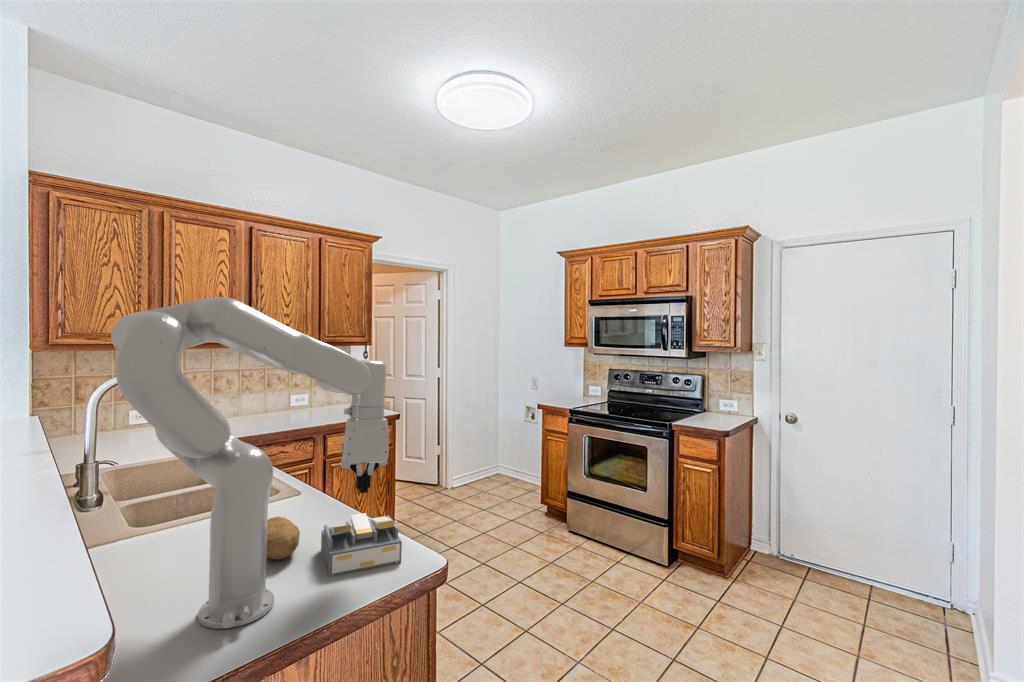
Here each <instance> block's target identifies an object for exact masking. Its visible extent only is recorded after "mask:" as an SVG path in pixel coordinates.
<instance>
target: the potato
mask: <svg viewBox="0 0 1024 682" xmlns="http://www.w3.org/2000/svg"><path fill="white" fill-rule="evenodd" d="M300 534H301V533H300V530H299V528H298V526H297V525H296V524H295V523H293V521H291V520H290V519H288V518H286V517H285V516H274V517H270V518H267V558H266V559H269V560H282V561H283V560H284V559H286V558H288V557H289V556H292V555H293V553H294V552H295V551H296V549H297V548H298V546H299V543H300Z"/></svg>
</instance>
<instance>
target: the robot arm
mask: <svg viewBox="0 0 1024 682" xmlns="http://www.w3.org/2000/svg"><path fill="white" fill-rule="evenodd" d="M110 333H111V335H110V339H111V342H112V345H113V347H114V348H115V349H116V351H117V352H118V353H117V357H116V360H115V361H116V362H115V363H116V364H115V377H116V382H117V386H118V388H119V391H120V393H121V395H122V396H123V397H124V399H125V400H126V401H127V403H129V405H130V406H131V407H132V408H133V409H134V410H135V411H136V412H137V413H138V414H139V415H140V416H141V417H142V418H143V419H144V420H145V421H146V422H147V423H148V424H149V425H150V426H151V427H153V428H154V431H155V435H156V437H157V439H158V441H159V443H161V445H163V446H164V448H166V450H168V451H169V452H170V453H171V454H172V455H173V456H175V457H176V458H177V459H178V460H179V461H181V462H182V464H184V465H185V466H186V467H187V468H188V469H189V470H191V471H192V472H193V473H194V474H195V475H196V476H198V477H199V478H200V479H201V480H202V481H204V482H206V483H207V484H209V485H210V486H211V487H213V488H214V491H215V495H214V500H213V504H212V508H211V512H210V513H211V514H210V523H209V525H210V526H209V531H210V532H209V537H210V538H209V563H208V564H209V571H208V600H207V601H206V602H205V603H203V604H202V605H201V607H200V608H199V609H198V613H197V616H198V617H197V618H198V622H199V624H200V625H201V626H204V627H206V628H209V629H215V630H216V629H217V630H221V629H230V628H237V627H241V626H244V625H247V624H250V623H252V622H255V621H257V620H258V619H260V618H262V617H264V616H265V615H266V614H267V613H268V612H269V611H270V610H271V609H272V608H273V606H274V603H275V596H274V595H275V594H274V593H273V592H272V591H271V590H269V589H267V587H266V586H267V585H266V583H267V559H268V558H267V520H268V519H269V518H268V515H269V514H268V513H269V512H268V511H269V500H270V495H271V490H272V485H273V481H274V480H273V478H274V468H273V463H272V461H271V458H270V457H269V456H268V454H267V453H266V452H264V450H262V449H260V448H259V447H257V446H255V445H253V444H250V443H248V442H244V441H242V440H240V439H239V438H238V437H236V436H235V435H234V434H233V432H232V431H231V426H230V423H229V421H228V419H227V418H226V416H225V415H224V414H223V413H222V412H220V410H218V409H217V408H216V407H214V406H213V405H212V404H211V403H210V401H208V400H207V399H206V398H205V396H203V395H202V394H201V393H200V392H199V391H198V390H197V389H196V388H195V387H194V386H193V384H191V382H190V381H189V380H188V379H187V378H186V376H185V374H183V372H182V370H181V365H180V358H181V355H182V352H183V350H185V349H189V348H193V347H196V346H200V345H202V344H203V345H204V344H207V343H210V342H214V343H217V344H220V345H222V346H224V347H227V348H229V349H231V350H234V351H236V352H238V353H240V354H243V355H245V356H247V357H249V358H252V359H253V360H254V359H255V360H256V361H258V362H261V363H262V364H265V365H266V366H268V367H272V368H274V369H278V370H281V371H284V372H288V373H293V374H297V375H301V376H305V377H307V378H311V379H314V381H315V383H316V384H317V385H318V386H319V388H321V389H322V390H324V391H327V392H331V393H337V394H343V395H348V396H351V397H350V398H351V399H350V405H349V407H347V408H344V409H343V414H344V415H349V417H348V418H347V419H346V423H345V427H344V431H343V438H342V445H341V459H340V464H339V466H340V467H341V468H342V469H347V470H352V472H354V473H355V475H356V477H355V478H356V479H355V488H356V490H358V492H359V494H363V493H365V494H368V493H369V489H370V488H371V485H372V484H371V480H372V475H373V474H374V472H375V471H376V470H377V469H378V468H381V467H383V466H387V465H388V464H389V462H388V461H389V460H388V459H389V457H390V456H389V454H390V437H389V436H390V435H389V433H390V432H389V422H388V418H385V416H384V415H385V399H386V382H387V381H386V378H387V365H386V363H385V362H384V361H381V360H373V359H372V360H369V359H359V358H356V357H354V356H353V355H351V354H349V353H347V352H345V351H344V350H342V349H340V348H337V347H335V346H332V345H331V344H328V343H325V342H323V341H321V340H318V339H316V338H314V337H312V336H310V335H307V334H306V333H302V332H300V331H298V330H295V329H293V328H292V327H290V326H287V325H286V324H285V323H282V322H280V321H277V320H276V319H274V318H272V317H270V316H268V315H266V314H264V313H263V312H260V311H259V310H257V309H255V308H253V307H251V306H250V305H247V304H245V303H244V302H241V301H240V300H237V299H235V298H231V297H224V296H223V297H221V296H219V297H209V298H208V297H207V298H202V299H197V300H194V301H189V302H185V303H179V304H174V305H170V306H169V305H168V306H164V307H159V308H153V309H148V310H142V311H137V312H132V313H129V314H126V315H125V316H122V317H121V318H120V319H118V320H117V321H116V323H115V324H114V325H113V327H112V329H111V332H110ZM363 464H365V470H364V472H363Z"/></svg>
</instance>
